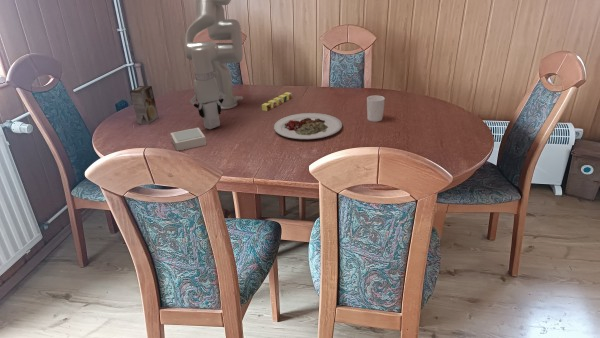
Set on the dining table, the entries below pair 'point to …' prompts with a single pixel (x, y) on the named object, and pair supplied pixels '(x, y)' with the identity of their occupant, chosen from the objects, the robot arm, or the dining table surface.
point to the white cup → (375, 108)
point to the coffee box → (144, 104)
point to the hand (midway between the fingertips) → (210, 114)
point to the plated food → (308, 126)
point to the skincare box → (210, 115)
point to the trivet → (188, 139)
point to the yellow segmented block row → (276, 101)
